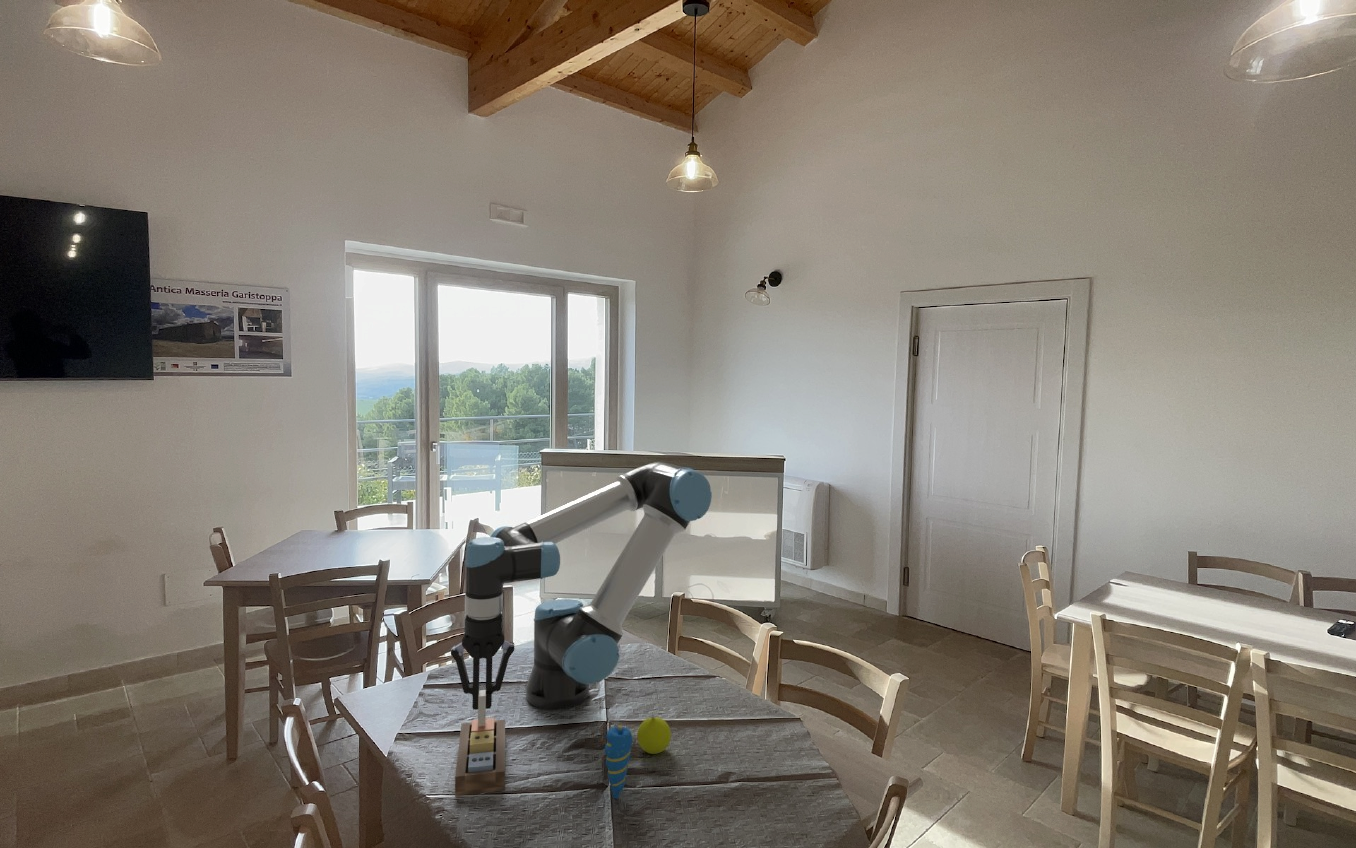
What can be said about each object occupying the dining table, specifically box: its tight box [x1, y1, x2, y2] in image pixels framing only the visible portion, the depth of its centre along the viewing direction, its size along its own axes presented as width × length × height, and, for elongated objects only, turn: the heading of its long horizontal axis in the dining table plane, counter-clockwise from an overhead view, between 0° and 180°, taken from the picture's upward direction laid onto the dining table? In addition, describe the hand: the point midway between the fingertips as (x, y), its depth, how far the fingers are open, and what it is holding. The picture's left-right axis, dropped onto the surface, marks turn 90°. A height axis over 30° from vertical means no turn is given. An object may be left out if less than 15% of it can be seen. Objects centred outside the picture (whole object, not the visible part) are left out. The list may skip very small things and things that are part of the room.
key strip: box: [454, 719, 506, 797], centre depth 138 cm, size 9×19×4 cm, turn 14°
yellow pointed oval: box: [636, 714, 672, 755], centre depth 145 cm, size 7×7×10 cm
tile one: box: [471, 717, 495, 733], centre depth 144 cm, size 4×4×3 cm
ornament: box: [604, 723, 634, 800], centre depth 128 cm, size 5×5×15 cm
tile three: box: [468, 752, 493, 773], centre depth 132 cm, size 4×4×3 cm
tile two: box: [470, 730, 494, 754], centre depth 138 cm, size 4×4×3 cm
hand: (481, 722), depth 143 cm, fingers closed
